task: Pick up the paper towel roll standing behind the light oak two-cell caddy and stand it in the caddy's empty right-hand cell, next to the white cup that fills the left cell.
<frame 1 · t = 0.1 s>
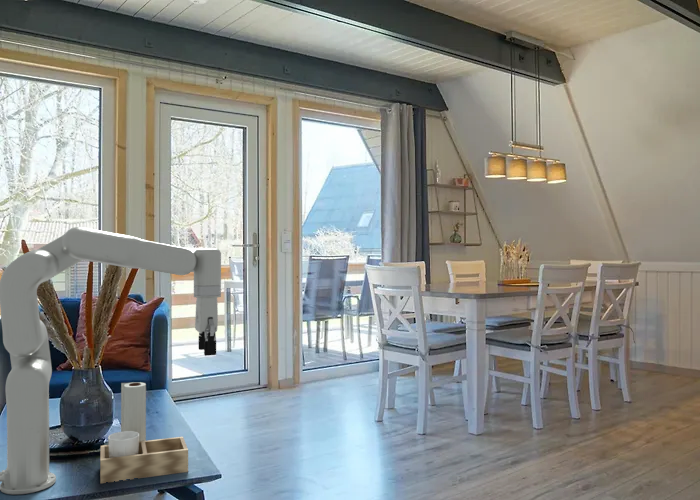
hand: (207, 352, 171), 31 cm above the table, tool pointing down, fingers open, 9 cm apart
paper towel roll: (134, 458, 175), on the table
wooden caddy: (144, 469, 165), on the table
white cup: (123, 473, 163), resting in wooden caddy
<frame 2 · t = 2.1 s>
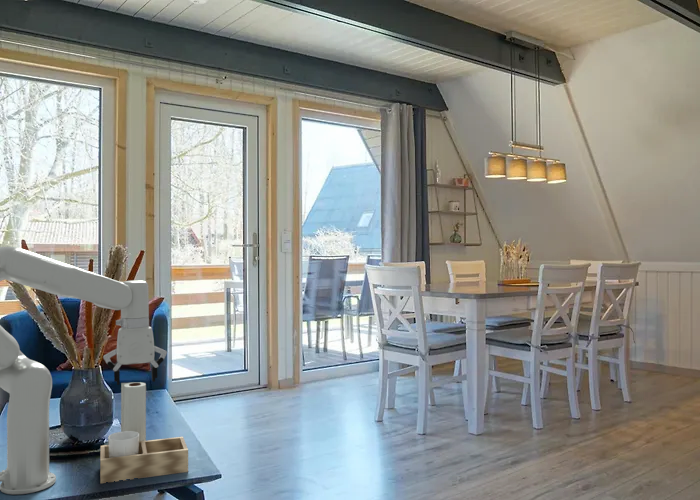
hand: (136, 382, 175), 22 cm above the table, tool pointing down, fingers open, 9 cm apart
nothing on the table moved.
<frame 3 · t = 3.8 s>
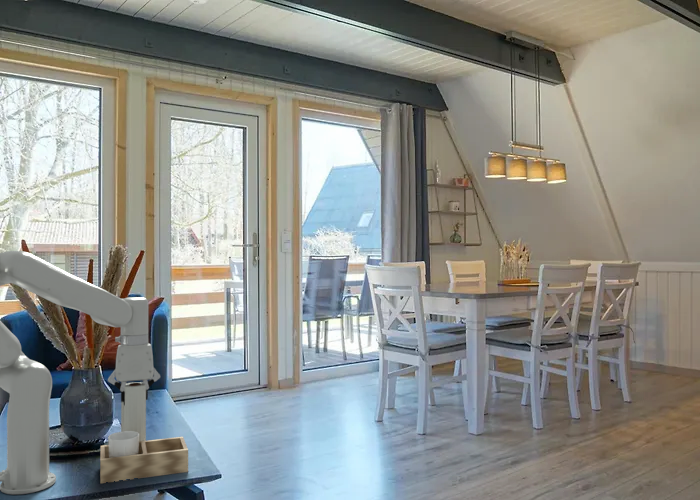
hand: (134, 402, 174), 16 cm above the table, tool pointing down, fingers closed on paper towel roll, 4 cm apart
paper towel roll: (134, 457, 175), on the table, touching gripper
everything else where it was.
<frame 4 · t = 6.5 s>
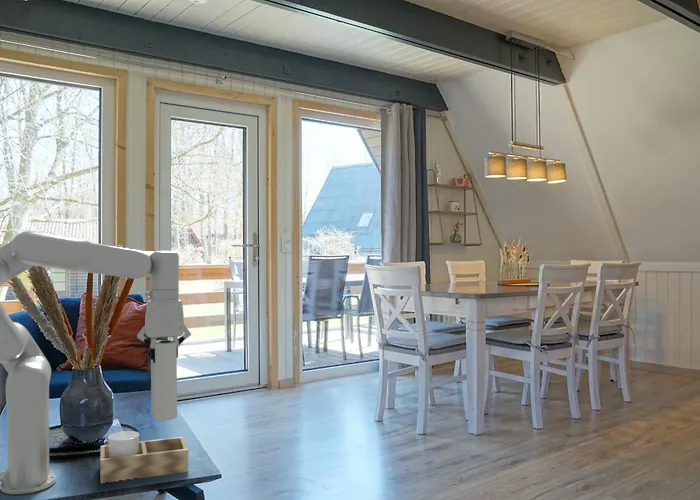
hand: (164, 360, 167), 29 cm above the table, tool pointing down, fingers closed on paper towel roll, 4 cm apart
paper towel roll: (165, 418, 168), point 13 cm above the table, touching gripper
everything else where it was.
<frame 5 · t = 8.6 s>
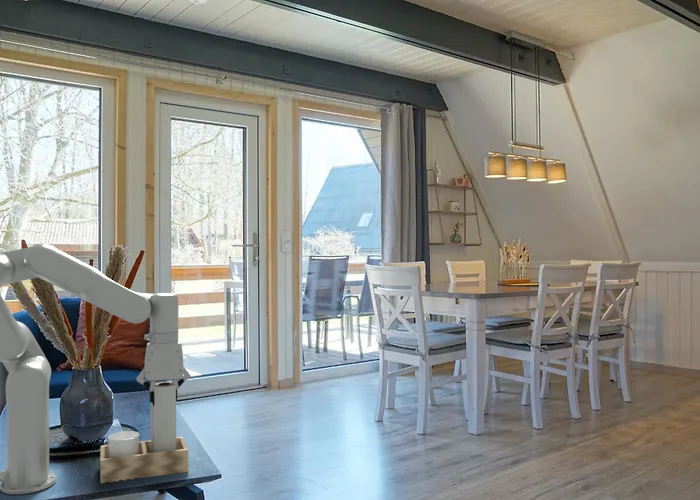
hand: (163, 403, 167), 18 cm above the table, tool pointing down, fingers closed on paper towel roll, 4 cm apart
paper towel roll: (164, 460, 168), point 2 cm above the table, touching gripper
everything else where it was.
when the fingers open (18 cm above the table, at t = 9.3 s): paper towel roll drops 2 cm, resting in wooden caddy.
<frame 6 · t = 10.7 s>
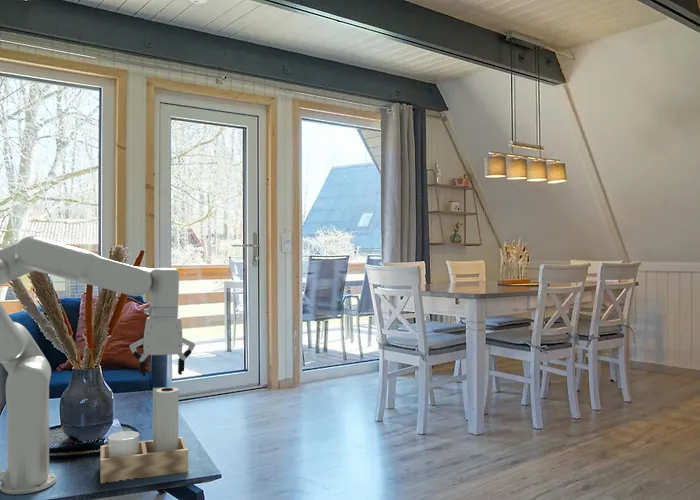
hand: (161, 374, 167), 26 cm above the table, tool pointing down, fingers open, 9 cm apart
paper towel roll: (166, 465, 169), resting in wooden caddy
everything else where it was.
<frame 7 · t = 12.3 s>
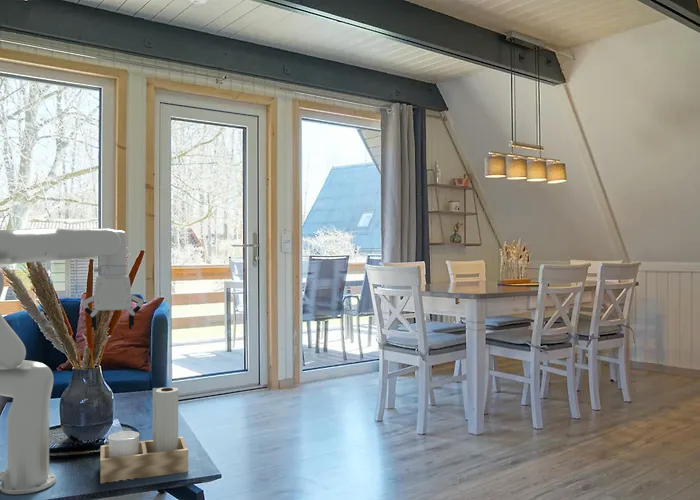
hand: (112, 329, 180), 36 cm above the table, tool pointing down, fingers open, 9 cm apart
nothing on the table moved.
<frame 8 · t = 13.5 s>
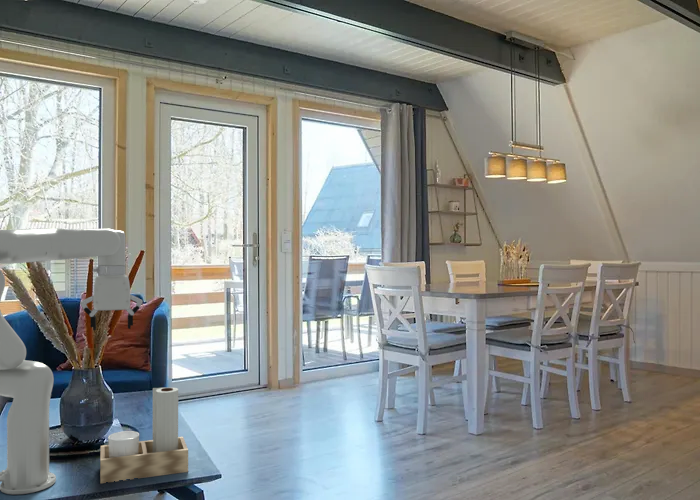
hand: (111, 329, 180), 36 cm above the table, tool pointing down, fingers open, 9 cm apart
nothing on the table moved.
at the end: paper towel roll inside the target area on the wooden caddy (1.4 cm from its centre), point 0.0 cm above the wooden caddy's base; paper towel roll tilted 0°; the gripper is holding nothing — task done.
